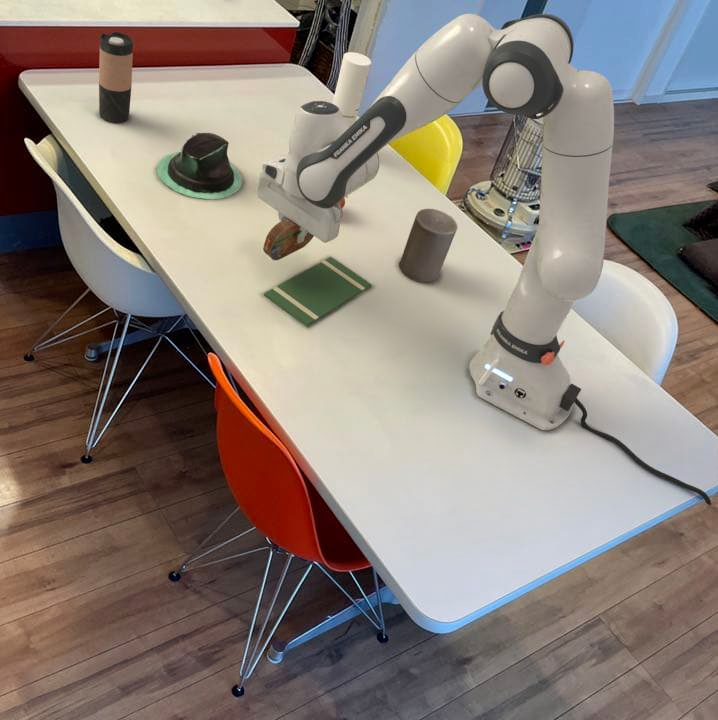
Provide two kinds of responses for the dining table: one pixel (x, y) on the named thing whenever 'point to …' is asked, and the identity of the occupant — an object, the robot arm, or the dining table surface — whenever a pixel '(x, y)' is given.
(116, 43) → the travel mug
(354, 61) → the cylindrical container
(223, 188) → the hat
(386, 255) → the dining table surface
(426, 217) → the pillar candle
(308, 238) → the tin
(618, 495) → the dining table surface
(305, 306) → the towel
